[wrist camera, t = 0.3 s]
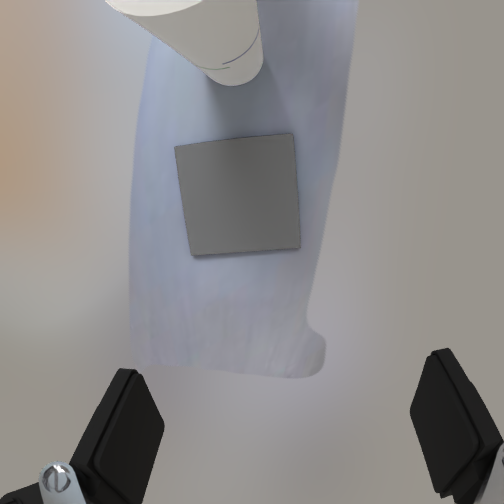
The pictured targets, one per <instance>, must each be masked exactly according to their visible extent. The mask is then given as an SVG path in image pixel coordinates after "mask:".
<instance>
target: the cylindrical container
mask: <svg viewBox="0 0 504 504" xmlns="http://www.w3.org/2000/svg"><path fill="white" fill-rule="evenodd" d="M105 1H106V2H107V3H108V4H109V5H110V6H112V7H113V8H114V9H116V10H117V11H119V12H120V13H122V14H123V15H125V16H126V17H128V18H129V19H131V20H132V21H134V22H135V23H137V24H139V25H140V26H141V27H143V28H144V29H146V30H147V31H149V32H150V33H151V34H153V35H154V36H156V37H157V38H158V39H160V40H161V41H163V42H164V43H165V44H167V45H168V46H170V47H171V48H172V49H174V50H175V51H176V52H178V53H179V54H180V55H182V56H183V57H184V58H186V59H187V60H188V61H189V62H191V63H192V64H193V65H195V66H196V67H197V68H199V69H200V70H201V71H202V72H204V73H205V74H206V75H207V76H209V77H210V78H211V79H212V80H214V81H215V82H217V83H219V84H222V85H226V86H237V85H242V84H245V83H247V82H249V81H250V80H252V79H253V78H254V77H255V76H256V75H257V74H258V73H259V71H260V69H261V67H262V64H263V48H262V40H261V32H260V25H259V17H258V10H257V2H256V0H105Z"/></svg>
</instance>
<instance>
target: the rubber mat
mask: <svg viewBox="0 0 504 504" xmlns="http://www.w3.org/2000/svg"><path fill="white" fill-rule="evenodd" d="M174 149H175V156H176V163H177V171H178V178H179V184H180V191H181V198H182V204H183V210H184V216H185V223H186V228H187V234H188V240H189V246H190V251H191V256H192V255H206V254H221V253H235V252H249V251H263V250H277V249H291V248H301V242H300V223H299V206H298V191H297V176H296V163H295V151H294V139H293V134H279V135H267V136H255V137H245V138H236V139H227V140H218V141H211V142H203V143H196V144H189V145H183V146H176V147H174Z"/></svg>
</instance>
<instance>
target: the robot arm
mask: <svg viewBox="0 0 504 504" xmlns="http://www.w3.org/2000/svg"><path fill="white" fill-rule="evenodd" d="M410 416H411V419H412V422H413V425H414V428H415V430H416V434H417V436H418V439H419V442H420V445H421V448H422V452H423V455H424V458H425V461H426V464H427V467H428V471H429V474H430V477H431V480H432V484H433V487H434V490H435V492H436V493H440V497H441V498H445V497H447V496H450V495H453V498H454V502H455V504H504V441H503V439H502V437H501V435H500V433H499V431H498V429H497V427H496V425H495V423H494V421H493V419H492V417H491V415H490V413H489V411H488V410H487V408H486V406H485V404H484V402H483V400H482V399H481V397H480V395H479V393H478V392H477V390H476V388H475V386H474V385H473V384H472V382H470V381H469V379H468V377H467V376H466V374H465V372H464V371H463V369H462V367H461V366H460V364H459V362H458V361H457V359H456V358H455V356H454V354H453V353H452V351H451V350H450V349H449V348H445V349H440V350H436V351H432V353H431V355H430V356H428V357H427V358H426V362H425V365H424V368H423V371H422V375H421V378H420V381H419V384H418V387H417V390H416V393H415V396H414V399H413V402H412V404H411V407H410ZM163 432H164V421H163V419H162V417H161V415H160V413H159V411H158V409H157V407H156V405H155V402H154V400H153V398H152V396H151V394H150V392H149V389H148V387H147V385H146V383H145V380H144V378H143V376H142V375H141V374H139V373H138V372H137V370H135V369H122V368H120V369H119V370H118V371H117V372H116V374H115V376H114V378H113V380H112V381H111V383H110V386H109V387H108V389H107V391H106V393H105V395H104V397H103V398H102V400H101V402H100V404H99V406H98V407H97V409H96V410H95V412H94V414H93V416H92V418H91V420H90V422H89V424H88V426H87V428H86V430H85V432H84V434H83V436H82V438H81V440H80V442H79V444H78V446H77V448H76V450H75V452H74V454H73V456H72V458H71V461H70V463H69V464H67V463H64V462H60V461H56V462H52V463H50V464H48V465H46V466H45V467H44V468H43V469H42V471H41V473H40V475H39V482H37V483H35V484H32V485H30V486H27V487H24V488H21V489H19V490H16V491H13V492H10V493H7V494H6V495H4V496H3V497H2V498H1V499H0V504H142V501H143V498H144V495H145V491H146V488H147V485H148V481H149V478H150V475H151V471H152V468H153V464H154V461H155V458H156V455H157V452H158V448H159V445H160V442H161V439H162V436H163Z"/></svg>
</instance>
